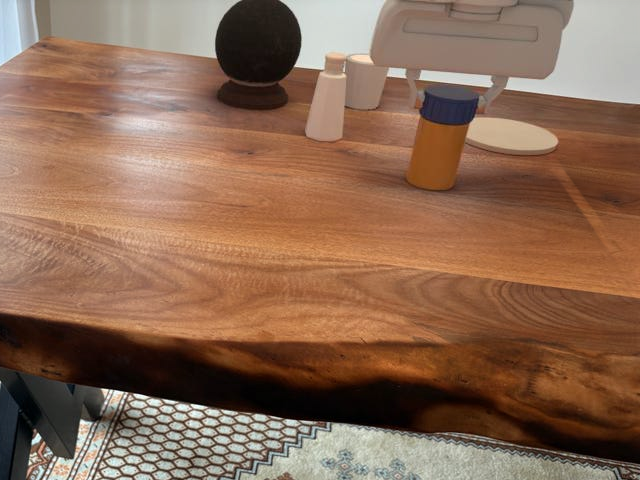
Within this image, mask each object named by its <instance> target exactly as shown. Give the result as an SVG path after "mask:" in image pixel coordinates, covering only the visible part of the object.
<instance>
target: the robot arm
mask: <svg viewBox="0 0 640 480" xmlns="http://www.w3.org/2000/svg"><path fill="white" fill-rule="evenodd" d="M574 7H575V3H574V0H385V1H384V3H383V5H382V7H381V9H380V12H379V14H378V17H377V19H376V23H375V26H374V29H373V34H372V37H371V40H370V46H369V53H368V54H369V55H370V58H371V60H372V62H373V63H374V65H375V66H377V67H389V69H404V70H405V73H404V75H405V78H406V81H407V84H408V87H409V90H410V95H409V99H408V108H409V109H410V110H419V109H422V108H423V102H424V100H425V96H426V95H425V94H424V90H418V88H417V85H416V82H415V80H419V79H420V77H421V72H422V71H427V72H429V71H430V72H441V73H453V74H465V75H466V74H467V75H477V76H478V75H480V76H490V81H491V83H492V85H491V86H490V87H489V88H488V89H487V91H486V92H485V93H484V94H483V95H479V99H478V103H477V108H476V111H475V115H482V116H487V115H488V114H489V113H490V108H491V105H492V101H495V99H496V98H497V97H498V96H499V95H500V94H501V93H502V92H503V91H504V90H505V89H506V88H507V86H508V82H509V79H510V78H517V79H528V80H529V79H530V80H541V81H542V80H545V79H547V78H548V77H549V76H550V75H552V74H553V73H554V72H555V69H556V67H557V63H558V58H559V54H560V49H561V43H562V38H563V31H564V30H566V28H567V26H568V25H569V23H570V20H571V17H572V14H573V11H574Z"/></svg>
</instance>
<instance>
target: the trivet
mask: <svg viewBox="0 0 640 480" xmlns="http://www.w3.org/2000/svg"><path fill="white" fill-rule="evenodd" d="M465 144H468V145H470V146H473V147H475V148H478V149H481V150H485V151H489V152H494V153H498V154H504V155H512V156H540V155H541V156H542V155H546V154H550V153H552V152H554V151H555V150H556V149H557V147H558V144H559V139H558V137H557V136H556V135H555V134H554V133H553V132H551V131H548V130H547V129H545V128H542V127H540V126H538V125H534V124H531V123H528V122H523V121H519V120H514V119H508V118H501V117H474V118H473V121H472V122H471V123H470V126H469V130H468V134H467V138H466V141H465Z"/></svg>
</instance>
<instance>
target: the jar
mask: <svg viewBox="0 0 640 480" xmlns="http://www.w3.org/2000/svg"><path fill="white" fill-rule="evenodd" d="M470 123H471V122H470ZM470 123H466V124H445V123H439V122H435V121H431V120H428V119H426V118H424V117H422V116H421V115H420V114H419V119H418V124H417V128H416V132H415V137H414V140H413V144H412V145H413V146H412V149H411V154H410V158H409V162H408V167H407V171H406V176H405V180H406V181H407V182H408V184H410V185H411V186H414V187H417V188H420V189H423V190H428V191H448V190H450V189H452V188H453V187H454V185H455V181H456V178H457V175H458V171H459V167H460V163H461V159H462V155H463V152H464V148H465V145H466V142H465V141H466V138H467V134H468V130H469V126H470Z"/></svg>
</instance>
